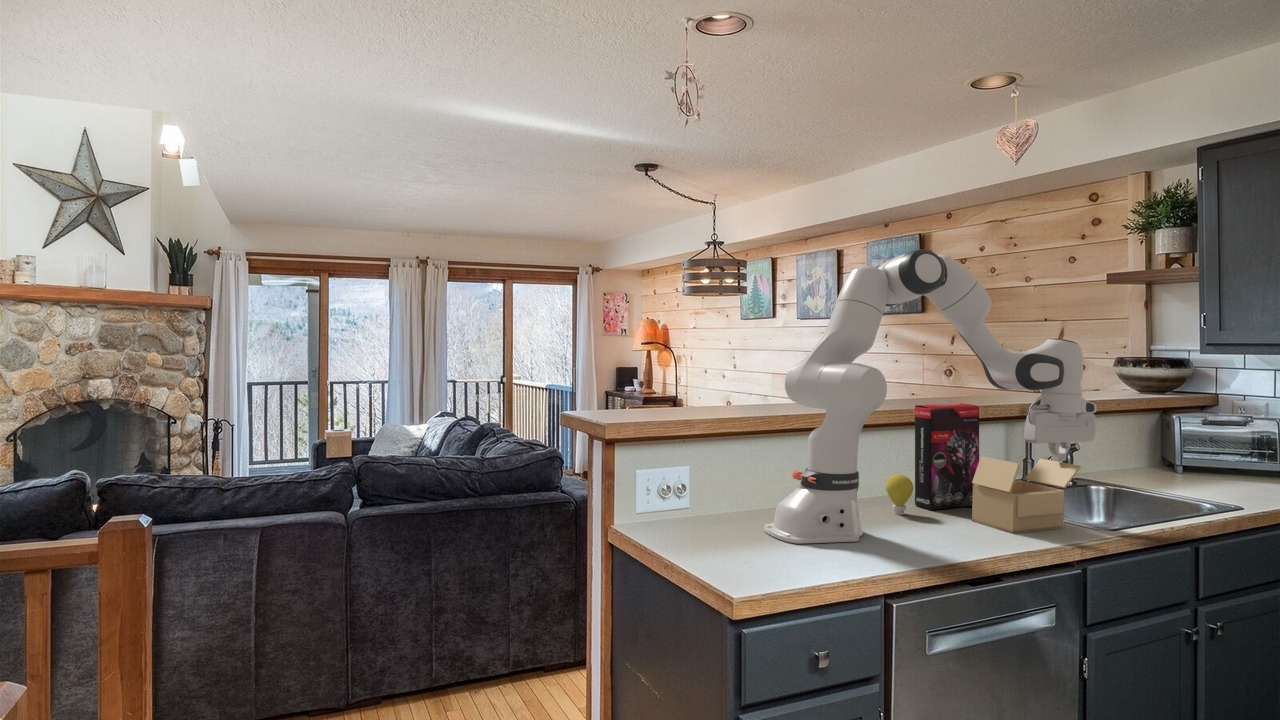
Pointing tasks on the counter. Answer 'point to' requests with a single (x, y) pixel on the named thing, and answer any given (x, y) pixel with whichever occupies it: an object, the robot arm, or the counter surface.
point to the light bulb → (899, 492)
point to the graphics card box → (945, 454)
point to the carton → (1019, 507)
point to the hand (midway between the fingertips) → (1058, 460)
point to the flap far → (1052, 473)
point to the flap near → (996, 473)
